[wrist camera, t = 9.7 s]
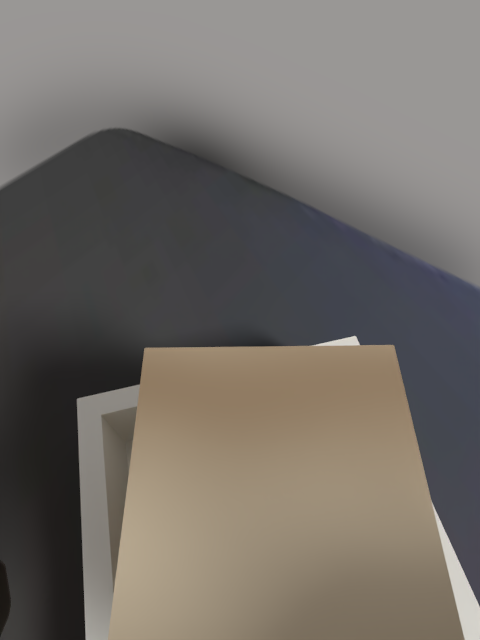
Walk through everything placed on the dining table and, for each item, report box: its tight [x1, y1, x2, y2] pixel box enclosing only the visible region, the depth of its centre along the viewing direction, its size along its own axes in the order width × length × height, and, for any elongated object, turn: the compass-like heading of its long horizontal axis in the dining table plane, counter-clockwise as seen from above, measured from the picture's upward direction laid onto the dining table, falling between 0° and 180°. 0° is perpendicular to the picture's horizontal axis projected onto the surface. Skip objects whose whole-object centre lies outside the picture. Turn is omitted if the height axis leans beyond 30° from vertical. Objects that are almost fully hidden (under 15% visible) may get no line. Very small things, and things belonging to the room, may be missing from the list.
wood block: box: [108, 345, 465, 640], centre depth 11 cm, size 5×5×10 cm
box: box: [77, 336, 480, 640], centre depth 14 cm, size 11×11×4 cm
